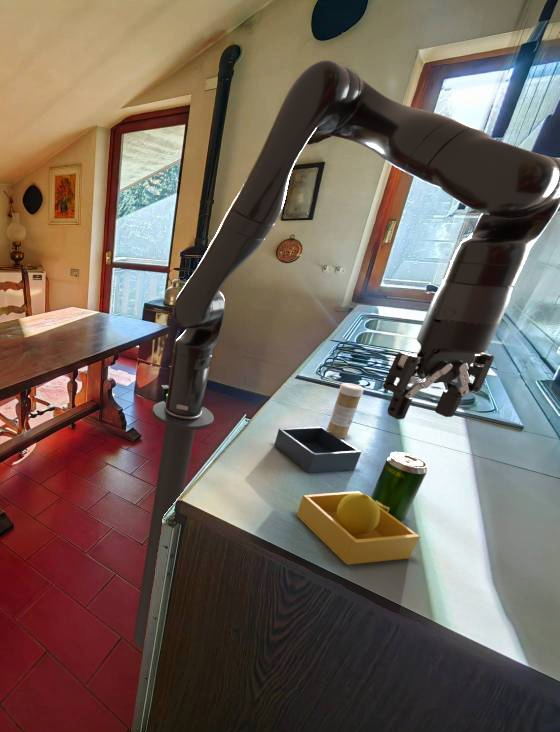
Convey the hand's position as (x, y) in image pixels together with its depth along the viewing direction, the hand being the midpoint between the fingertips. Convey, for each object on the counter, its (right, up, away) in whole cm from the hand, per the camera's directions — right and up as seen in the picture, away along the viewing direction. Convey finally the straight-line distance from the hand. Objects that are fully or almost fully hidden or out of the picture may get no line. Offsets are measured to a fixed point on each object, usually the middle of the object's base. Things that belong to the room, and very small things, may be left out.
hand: (419, 415), depth 62 cm
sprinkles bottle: (+15, -8, +37) cm, 41 cm away
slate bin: (+2, -12, +27) cm, 30 cm away
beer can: (+3, -19, +10) cm, 22 cm away
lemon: (-7, -21, +5) cm, 22 cm away
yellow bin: (-7, -21, +5) cm, 23 cm away
